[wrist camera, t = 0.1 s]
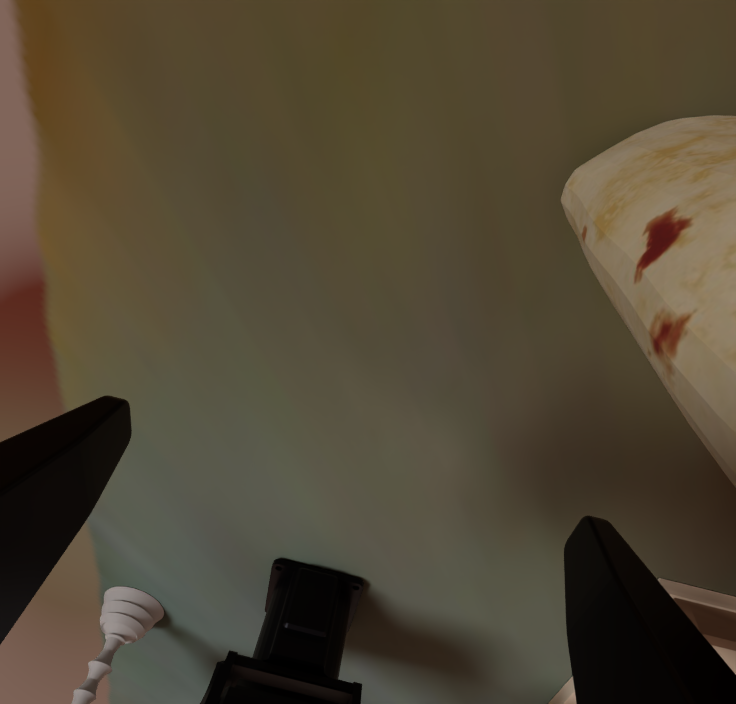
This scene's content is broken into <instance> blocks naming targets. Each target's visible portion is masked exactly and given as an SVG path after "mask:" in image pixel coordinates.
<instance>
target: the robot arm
mask: <svg viewBox="0 0 736 704" xmlns="http://www.w3.org/2000/svg"><path fill="white" fill-rule="evenodd" d="M131 432H132V430H131V416H130V406H129V403H128V401H126V400H125V399H121V398H117V397H113V396H103V397H100V398H98V399H96V400H93V401H91V402H89V403H87V404H85V405H82V406H80V407H78V408H76V409H73V410H71V411H69V412H67V413H64V414H62V415H60V416H58V417H55V418H53V419H51V420H49V421H47V422H44V423H42V424H40V425H38V426H35V427H33V428H31V429H29V430H26V431H24V432H22V433H20V434H18V435H15V436H13V437H11V438H8V439H6V440H4V441H2V442H0V644H1V643H2V641H3V640H4V639H5V637H6V636H7V634H8V633H9V631H10V630H11V628H12V627H13V626H14V624H15V623H16V621H17V620H18V618H19V617H20V615H21V614H22V612H23V611H24V610H25V608H26V607H27V605H28V604H29V602H30V601H31V600H32V598H33V597H34V595H35V594H36V592H37V591H38V589H39V588H40V586H41V585H42V584H43V582H44V581H45V579H46V578H47V576H48V575H49V573H50V572H51V571H52V569H53V568H54V566H55V565H56V563H57V562H58V560H59V559H60V557H61V556H62V555H63V553H64V552H65V550H66V549H67V547H68V546H69V545H70V543H71V542H72V540H73V539H74V537H75V536H76V534H77V533H78V532H79V530H80V529H81V527H82V526H83V524H84V523H85V521H86V520H87V518H88V517H89V515H90V513H91V512H92V510H93V508H94V507H95V505H96V503H97V501H98V499H99V498H100V496H101V494H102V492H103V490H104V488H105V486H106V485H107V483H108V481H109V479H110V477H111V475H112V474H113V472H114V470H115V468H116V466H117V464H118V462H119V461H120V459H121V457H122V455H123V453H124V451H125V449H126V448H127V446H128V444H129V441H130V438H131ZM564 572H565V602H566V626H567V638H568V647H569V654H570V661H571V668H572V675H573V682H574V689H575V696H576V703H577V704H736V674H735V673H734V672H733V671H732V669H731V668H730V667H729V666H728V665H727V663H726V662H725V661H724V660H723V659H722V657H721V656H720V655H719V654H718V653H717V651H716V650H715V649H714V648H713V646H712V645H711V644H710V643H709V642H708V640H707V639H706V638H705V637H704V636H703V634H702V633H701V632H700V631H699V630H698V628H697V627H696V626H695V625H694V624H693V622H692V621H691V620H690V619H689V617H688V616H687V615H686V614H685V613H684V611H683V610H682V609H681V608H680V607H679V605H678V604H677V603H676V602H675V601H674V599H673V598H672V597H671V596H670V594H669V593H668V592H667V591H666V590H665V588H664V587H663V586H662V585H661V584H660V582H659V581H658V580H657V579H656V578H655V576H654V575H653V574H652V573H651V572H650V570H649V569H648V568H647V567H646V565H645V564H644V563H643V562H642V561H641V559H640V558H639V557H638V556H637V555H636V553H635V552H634V551H633V550H632V549H631V547H630V546H629V545H628V544H627V543H626V541H625V540H624V539H623V538H622V536H621V535H620V534H619V533H618V532H617V530H616V529H615V528H614V527H613V526H612V524H611V523H610V522H608V521H607V520H604V519H600V518H596V517H592V516H585V517H583V518H582V519H581V520H580V522H579V523H578V525H577V526H576V528H575V529H574V531H573V532H572V534H571V535H570V537H569V538H568V540H567V542H566V544H565V548H564ZM363 585H364V582H363V581H362V580H361V579H358V578H354V577H350V576H346V575H342V574H338V573H334V572H330V571H326V570H322V569H318V568H314V567H310V566H306V565H302V564H298V563H294V562H290V561H286V560H282V559H276V560H274V562H273V565H272V569H271V575H270V581H269V587H268V593H267V599H266V606H265V612H266V616H265V619H264V622H263V625H262V629H261V632H260V635H259V638H258V641H257V644H256V648H255V651H254V654H253V657H252V658H250V657H246V656H243V655H239V654H238V653H237V652H233V651H229V653H228V655H227V658H226V660H225V661H221V662H217V665H216V667H215V670H214V673H213V676H212V678H211V681H210V684H209V686H208V689H207V691H206V693H205V695H204V697H203V699H202V701H201V703H200V704H360V703H361V691H362V684H360V683H356V682H353V683H350V682H346V681H342V680H338V677H339V671H340V665H341V659H342V654H343V648H344V642H345V636H346V632H348V631H349V628H350V626H351V623H352V620H353V617H354V614H355V611H356V608H357V605H358V602H359V599H360V596H361V593H362V591H363Z"/></svg>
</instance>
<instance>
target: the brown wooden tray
mask: <svg viewBox="0 0 736 704" xmlns="http://www.w3.org/2000/svg"><path fill="white" fill-rule="evenodd" d="M658 581H659V582H660V584H661V585H662V586H663V587H664V588H665V590H666V591H667V592H668V593H669V594H670V596H671V597H672V598H673V599H674V601H675V602H676V603H677V604H678V605H679V607H680V608H681V609H682V610H683V611H684V613H685V614H686V615H687V616H688V617H689V619H690V620H691V621H692V622H693V624H694V625H695V626H696V627H697V628H698V630H699V631H700V632H701V633H702V634H703V636H704V637H705V638H706V639H707V640H708V642H709V643H710V644H711V645H712V646H713V648H714V649H715V650H716V651H717V653H718V654H719V655H720V656H721V657H722V659H723V660H724V661H725V662H726V663H727V665H728V666H729V667H730V668H731V669H732V671H733V672H734V673H735V674H736V597H734V596H730V595H726V594H722V593H718V592H714V591H710V590H706V589H702V588H698V587H694V586H690V585H686V584H682V583H678V582H674V581H670V580H666V579H662V578H659V579H658ZM548 704H577V703H576V696H575V689H574V682H573V676H572V677H571V678H570V679H569V681H568V682H567V683H566V684H565V685H564V686H563V687H562V688H561V690H560V691H559V692H558V693H557V694H556V695H555V696H554V697H553V699H552V700H551V701H550V702H549V703H548Z"/></svg>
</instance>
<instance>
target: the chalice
mask: <svg viewBox="0 0 736 704" xmlns="http://www.w3.org/2000/svg"><path fill="white" fill-rule="evenodd" d="M163 616H164V610H163V607H162V606H161V604H160V603H159V602H158V601H157V600H156V599H154V598H153V597H152V596H150V595H148V594H147V593H145V592H143V591H140V590H137V589H135V588H130V587H113V588H110V589H108V590H107V591H106V592H105V595H104V605H103V606H102V616H101V617H100V625H101V629H102V631H103V632H104V634H105V635H106V636H105V639H106V643H105V646H104V649H103V651H102V652H101V653H100V654H99V655H98V657H97V658H96V659H95V660H93V661H91V662H89V663H88V665H89V669H90V670H89V673H88V677H87V680H86V681H85V682H84V683H83V684H82V685H81V686H80V687H79V688H77V689H76V690H74V699H73V701H72V704H90V703H91V702H92V701H93V700H95V699H96V689H97V686H98V683H99V681H100V680H101V679H102V678H103V677H104V676H105V675H106V674H109V673H110V672H111V671H112V669H111V662H112V659H113V655H114V653H115V652H116V651H117V649H118V648H119V647H120V646H121V645H124V644H125V643H133V642H135V641H137V640H139V639H141V638H142V637H143V636H144V635H145V633H146V632H147V631H149V630H150V629H152V628H153V626H154V624H155V623H156V622H158V621H159V620H161V619H162V618H163Z"/></svg>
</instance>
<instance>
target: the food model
mask: <svg viewBox="0 0 736 704" xmlns="http://www.w3.org/2000/svg"><path fill="white" fill-rule="evenodd" d="M561 203H562V206H563V208H564V211H565V214H566V217H567V219H568V221H569V223H570V224H571V226H572V228H573V230H574V231H575V233H576V235H577V237H578V239H579V242H580V244H581V247H582V250H583V252H584V254H585V256H586V259H587V261H588V263H589V265H590V267H591V269H592V271H593V272H594V274H595V276H596V277H597V279H598V281H599V283H600V284H601V286H602V288H603V289H604V291H605V292H606V294H607V296H608V297H609V299H610V301H611V302H612V304H613V305H614V307H615V309H616V310H617V312H618V313H619V315H620V316H621V318H622V319H623V321H624V322H625V324H626V325H627V327H628V328H629V330H630V332H631V333H632V335H633V336H634V338H635V339H636V341H637V343H638V344H639V346H640V347H641V349H642V351H643V352H644V354H645V355H646V357H647V359H648V360H649V362H650V363H651V365H652V367H653V368H654V370H655V371H656V373H657V375H658V376H659V378H660V380H661V381H662V383H663V384H664V386H665V388H666V389H667V391H668V392H669V394H670V395H671V397H672V398H673V400H674V401H675V403H676V404H677V406H678V408H679V409H680V411H681V412H682V414H683V415H684V417H685V418H686V420H687V421H688V423H689V424H690V426H691V427H692V429H693V430H694V431H695V433H696V434H697V436H698V437H699V438H700V440H701V441H702V442H703V444H704V445H705V447H706V448H707V449H708V451H709V452H710V454H711V455H712V456H713V458H714V459H715V460H716V462H717V463H718V465H719V466H720V467H721V469H722V470H723V472H724V473H725V474H726V476H727V477H728V478H729V480H730V481H731V482H732V484H733V485H734V486H735V488H736V116H716V115H711V116H701V117H691V118H681V119H676V120H671V121H667V122H664V123H661V124H658V125H656V126H653V127H651V128H648V129H646V130H643V131H641V132H638V133H636V134H634V135H633V136H631V137H629V138H627V139H625V140H623V141H622V142H620V143H618V144H616V145H614V146H613V147H611V148H609V149H607V150H606V151H604V152H602V153H601V154H599V155H597V156H596V157H594V158H592V159H591V160H589V161H588V162H586V163H585V164H583V165H581V166H580V167H578V168H577V169H575V171H574V172H573V174H572V175H571V177H570V178H569V179H568V181H567V182H566V184H565V187H564V191H563V194H562V197H561Z"/></svg>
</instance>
